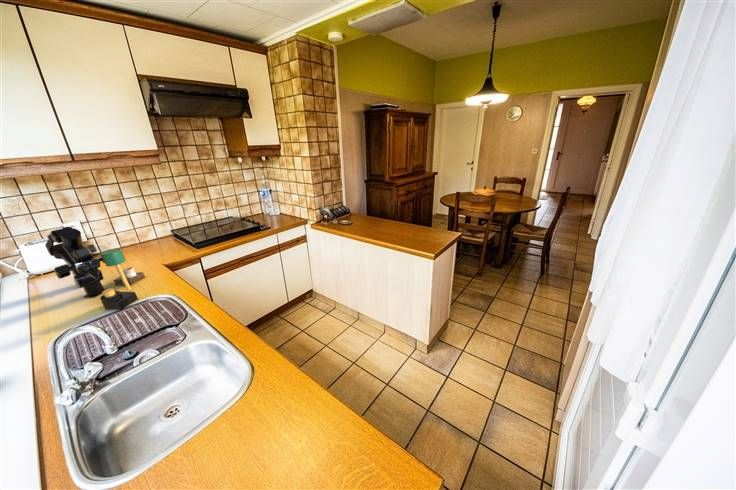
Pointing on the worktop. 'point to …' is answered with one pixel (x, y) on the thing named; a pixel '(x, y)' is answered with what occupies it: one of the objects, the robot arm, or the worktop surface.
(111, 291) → the lamp button
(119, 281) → the dimmer panel
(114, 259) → the lamp
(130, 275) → the dimmer
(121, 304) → the lamp base
